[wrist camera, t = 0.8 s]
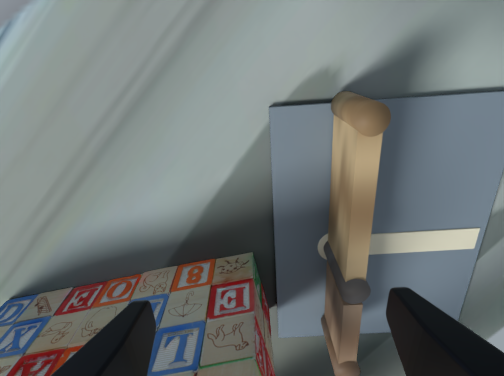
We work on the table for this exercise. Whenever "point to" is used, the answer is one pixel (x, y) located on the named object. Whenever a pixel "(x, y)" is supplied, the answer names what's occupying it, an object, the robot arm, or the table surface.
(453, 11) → the table surface
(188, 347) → the stack of blocks
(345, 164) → the folding fence panel
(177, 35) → the table surface
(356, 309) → the fixed fence section
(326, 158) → the board
